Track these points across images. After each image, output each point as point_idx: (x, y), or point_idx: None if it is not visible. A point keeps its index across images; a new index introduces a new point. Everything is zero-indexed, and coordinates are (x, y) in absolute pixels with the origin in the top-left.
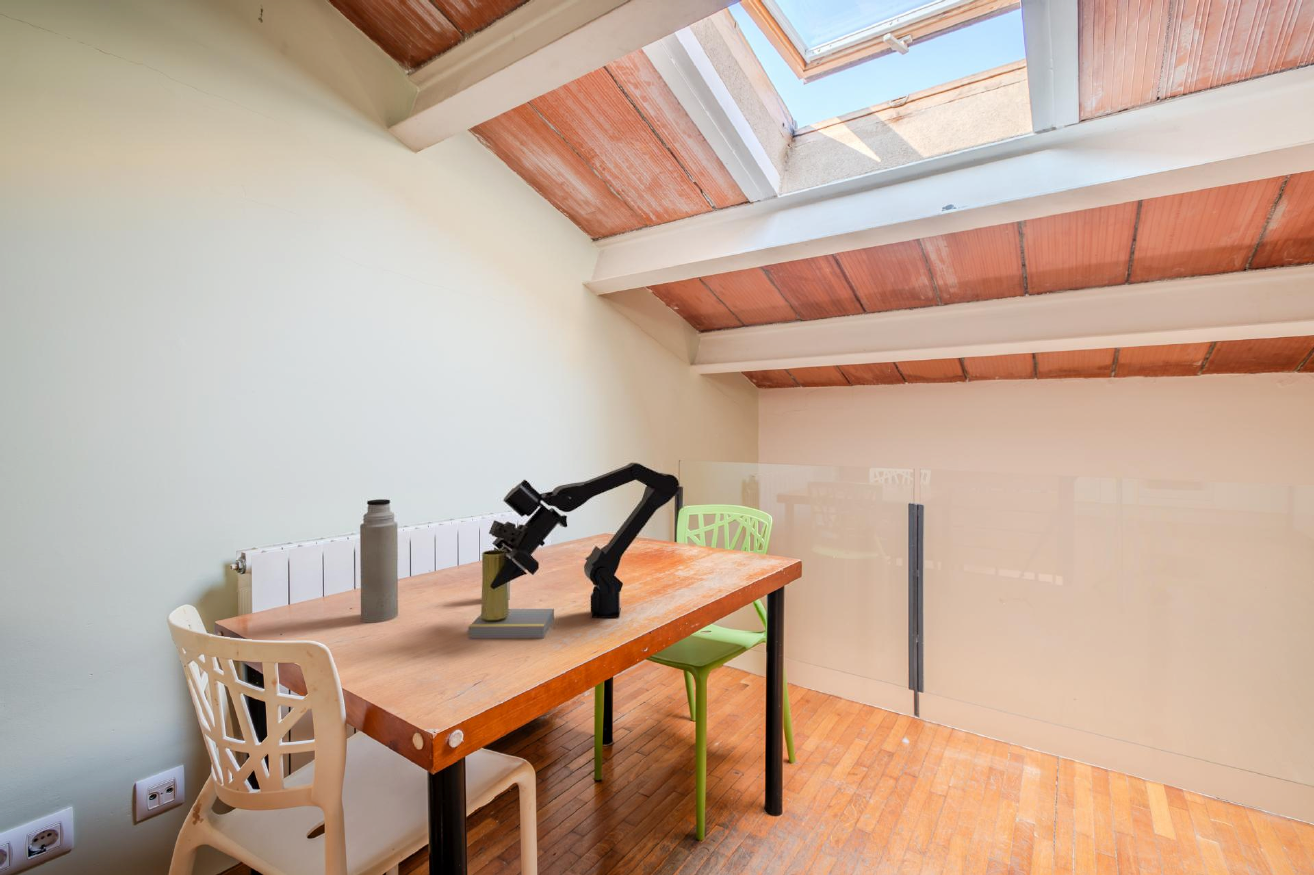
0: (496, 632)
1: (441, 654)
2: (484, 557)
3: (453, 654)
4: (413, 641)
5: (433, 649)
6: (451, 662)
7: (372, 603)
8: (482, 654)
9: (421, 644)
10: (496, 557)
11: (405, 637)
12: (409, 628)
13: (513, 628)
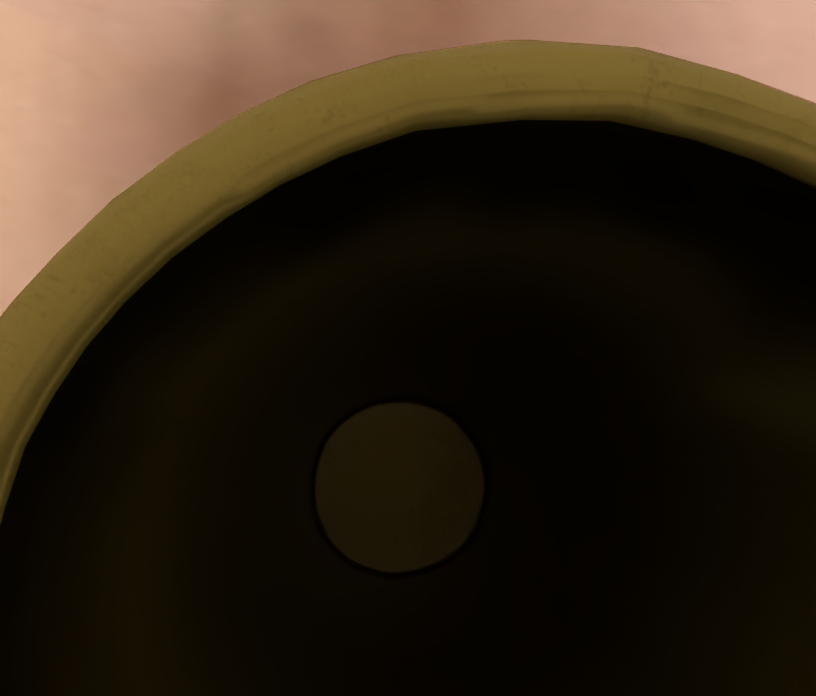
0: None
1: (229, 50)
2: (473, 133)
3: (177, 97)
4: (545, 18)
5: (338, 49)
6: (71, 42)
7: None
8: (44, 217)
9: (465, 32)
10: (15, 476)
11: (641, 10)
12: (786, 81)
13: None
